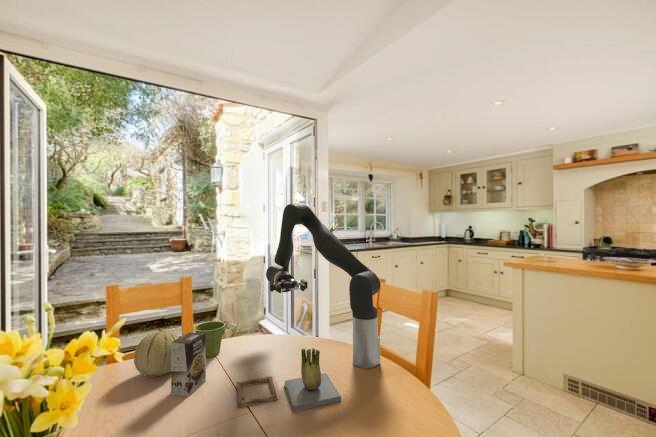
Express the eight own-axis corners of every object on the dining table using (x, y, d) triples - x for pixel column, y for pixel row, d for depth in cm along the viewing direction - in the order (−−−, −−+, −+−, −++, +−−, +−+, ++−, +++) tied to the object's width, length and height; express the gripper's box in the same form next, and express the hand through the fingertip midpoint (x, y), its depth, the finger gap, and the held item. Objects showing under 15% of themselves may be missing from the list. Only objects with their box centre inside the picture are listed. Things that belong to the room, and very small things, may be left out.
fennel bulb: (299, 387, 92) (299, 348, 92) (310, 381, 96) (310, 343, 96) (312, 394, 88) (312, 354, 88) (324, 387, 92) (323, 348, 92)
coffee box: (188, 397, 90) (188, 343, 90) (170, 394, 92) (169, 342, 92) (206, 381, 99) (206, 332, 99) (189, 379, 101) (189, 331, 101)
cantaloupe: (138, 391, 94) (137, 343, 94) (130, 373, 105) (130, 330, 105) (188, 374, 104) (187, 331, 104) (176, 360, 115) (176, 320, 115)
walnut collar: (271, 379, 100) (271, 375, 100) (277, 399, 88) (277, 395, 88) (237, 385, 96) (237, 381, 96) (238, 407, 85) (238, 403, 85)
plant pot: (232, 351, 122) (231, 323, 122) (206, 363, 112) (206, 333, 112) (213, 345, 128) (213, 319, 128) (187, 356, 118) (187, 327, 118)
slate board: (326, 377, 101) (326, 373, 101) (341, 401, 87) (341, 396, 87) (284, 385, 96) (284, 380, 96) (293, 411, 83) (293, 406, 83)
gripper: (266, 273, 122) (272, 280, 106) (300, 270, 126) (310, 277, 111) (266, 291, 121) (272, 301, 106) (300, 288, 126) (311, 297, 111)
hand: (292, 289), depth 108 cm, fingers open, 8 cm apart
